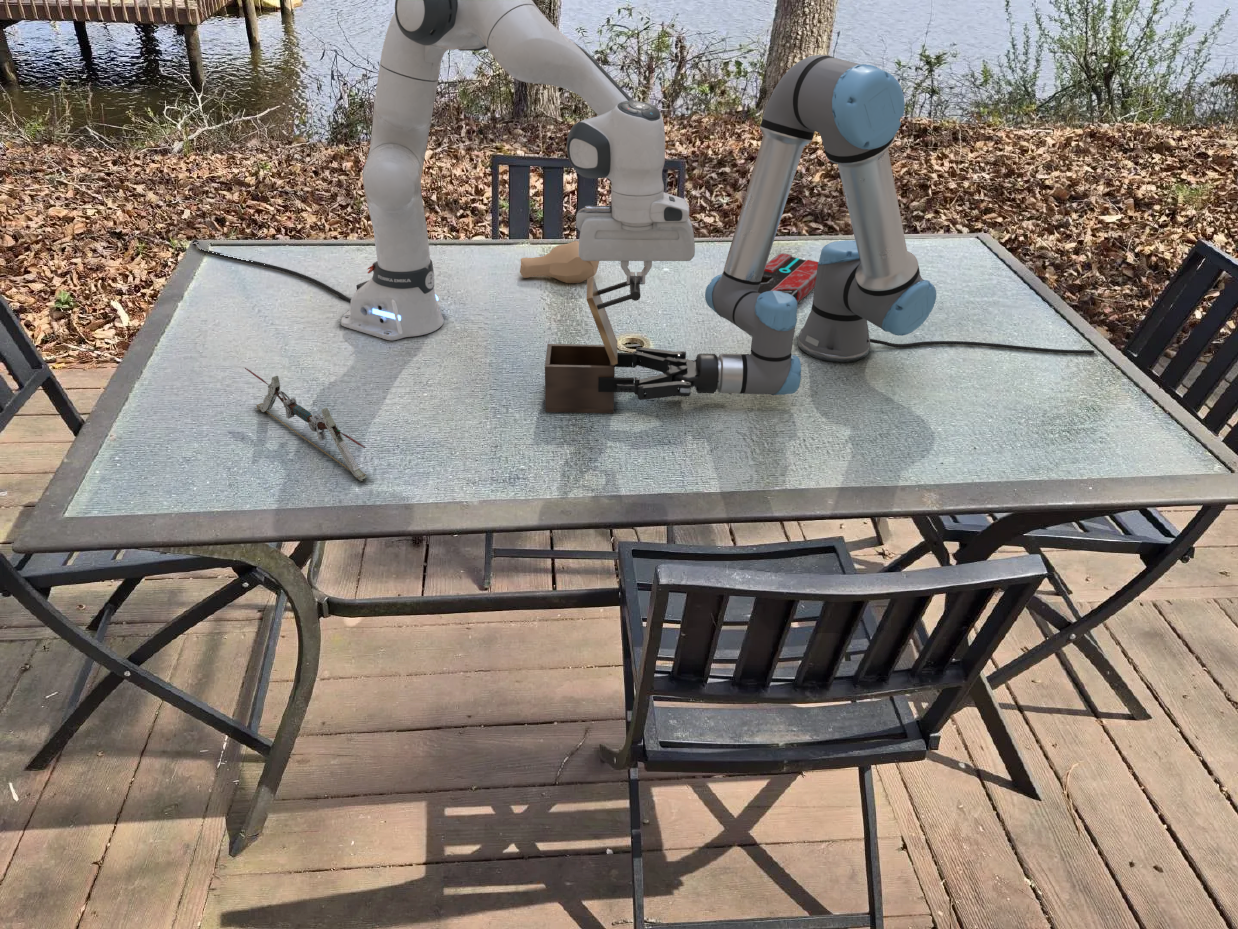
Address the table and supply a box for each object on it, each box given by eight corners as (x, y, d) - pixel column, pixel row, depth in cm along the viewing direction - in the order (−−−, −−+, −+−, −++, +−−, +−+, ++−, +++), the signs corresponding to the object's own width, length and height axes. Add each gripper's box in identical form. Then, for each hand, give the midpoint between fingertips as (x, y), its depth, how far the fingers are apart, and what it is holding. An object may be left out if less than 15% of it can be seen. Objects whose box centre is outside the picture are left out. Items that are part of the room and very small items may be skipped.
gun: (708, 284, 207) (784, 305, 199) (760, 245, 229) (831, 262, 221) (706, 302, 209) (781, 323, 201) (758, 261, 231) (828, 278, 223)
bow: (377, 484, 144) (369, 432, 138) (368, 488, 143) (359, 436, 137) (258, 401, 165) (247, 353, 160) (249, 404, 164) (237, 356, 158)
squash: (601, 287, 216) (596, 255, 210) (521, 294, 218) (514, 262, 211) (602, 264, 224) (597, 232, 218) (524, 271, 225) (518, 240, 219)
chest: (545, 412, 165) (544, 366, 159) (548, 387, 173) (547, 343, 167) (613, 413, 165) (614, 367, 160) (613, 389, 173) (614, 344, 168)
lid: (586, 299, 152) (635, 283, 151) (587, 278, 160) (634, 263, 158) (611, 365, 160) (659, 350, 158) (611, 342, 167) (656, 328, 166)
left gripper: (575, 211, 145) (576, 290, 153) (698, 211, 146) (693, 290, 153) (576, 199, 151) (577, 276, 158) (695, 200, 151) (690, 276, 158)
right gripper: (721, 420, 159) (597, 418, 158) (709, 364, 177) (598, 362, 177) (725, 384, 155) (598, 382, 154) (712, 330, 173) (599, 328, 172)
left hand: (635, 283), depth 156 cm, fingers closed, pressing on lid
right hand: (598, 371), depth 165 cm, fingers closed on chest, 9 cm apart
